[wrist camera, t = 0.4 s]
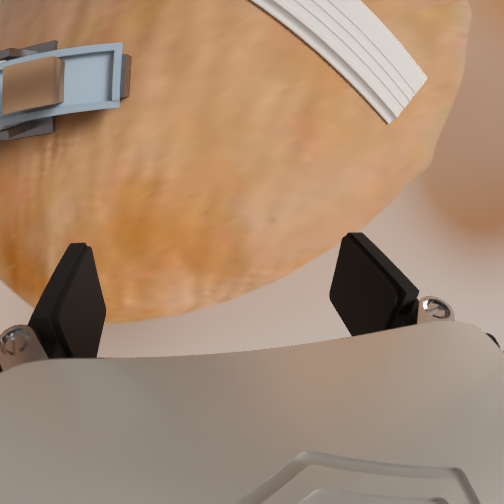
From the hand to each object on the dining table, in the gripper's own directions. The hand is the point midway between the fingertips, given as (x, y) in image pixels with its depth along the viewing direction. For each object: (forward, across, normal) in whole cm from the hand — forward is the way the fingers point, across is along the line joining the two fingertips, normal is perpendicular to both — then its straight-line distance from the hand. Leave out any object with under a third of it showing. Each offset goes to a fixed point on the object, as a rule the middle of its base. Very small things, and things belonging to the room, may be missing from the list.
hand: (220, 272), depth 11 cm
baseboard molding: (+30, -16, -17) cm, 38 cm away
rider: (+22, +17, -8) cm, 29 cm away
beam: (+22, +22, -8) cm, 32 cm away
